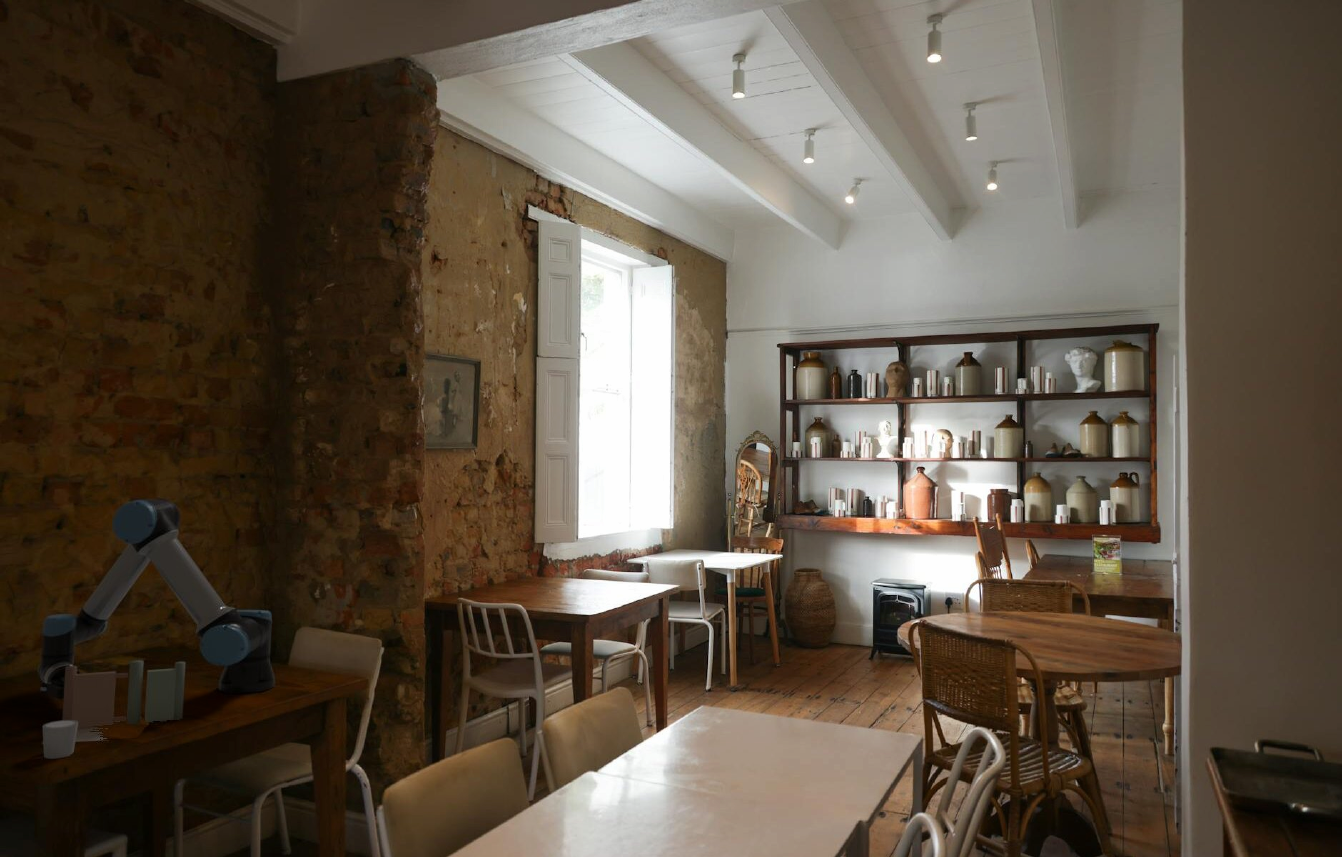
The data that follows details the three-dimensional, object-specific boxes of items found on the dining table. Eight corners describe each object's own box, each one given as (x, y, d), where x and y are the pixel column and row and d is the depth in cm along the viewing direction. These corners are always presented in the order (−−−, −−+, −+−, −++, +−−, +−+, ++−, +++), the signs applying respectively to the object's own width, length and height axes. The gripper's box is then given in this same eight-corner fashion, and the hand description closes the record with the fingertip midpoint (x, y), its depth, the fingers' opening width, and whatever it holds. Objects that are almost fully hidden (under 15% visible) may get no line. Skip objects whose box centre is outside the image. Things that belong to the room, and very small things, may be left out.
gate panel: (125, 721, 226) (128, 662, 226) (124, 723, 224) (128, 664, 224) (62, 726, 220) (66, 666, 220) (61, 729, 218) (64, 668, 218)
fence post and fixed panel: (125, 726, 224) (129, 663, 224) (126, 723, 226) (130, 660, 227) (182, 721, 229) (185, 659, 230) (182, 718, 232) (185, 657, 233)
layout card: (156, 718, 232) (156, 716, 232) (137, 739, 215) (137, 738, 215) (67, 722, 226) (67, 720, 226) (41, 744, 208) (41, 743, 208)
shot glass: (80, 755, 203) (82, 724, 203) (44, 761, 198) (46, 730, 198) (71, 747, 207) (73, 717, 208) (36, 754, 202) (38, 723, 203)
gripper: (90, 689, 244) (111, 709, 227) (33, 697, 235) (50, 718, 218) (92, 662, 244) (112, 679, 227) (35, 668, 235) (52, 687, 218)
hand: (82, 698), depth 223 cm, fingers closed
